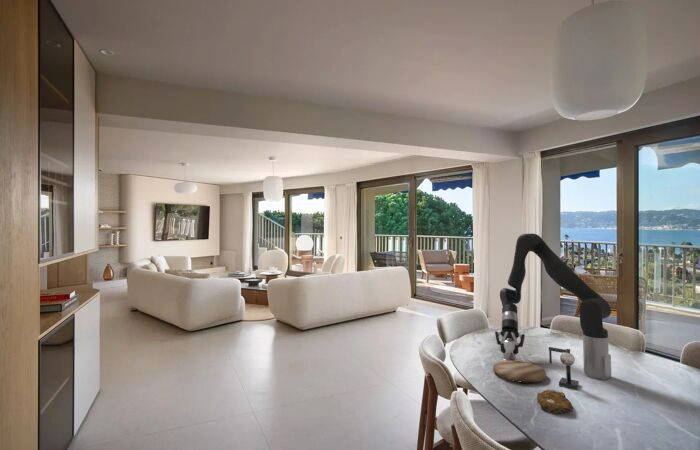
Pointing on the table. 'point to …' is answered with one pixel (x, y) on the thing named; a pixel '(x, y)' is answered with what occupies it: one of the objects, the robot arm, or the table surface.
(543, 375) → the disc
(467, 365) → the table surface
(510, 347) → the cover
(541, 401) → the decorative rock
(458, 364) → the table surface
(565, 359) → the stand
